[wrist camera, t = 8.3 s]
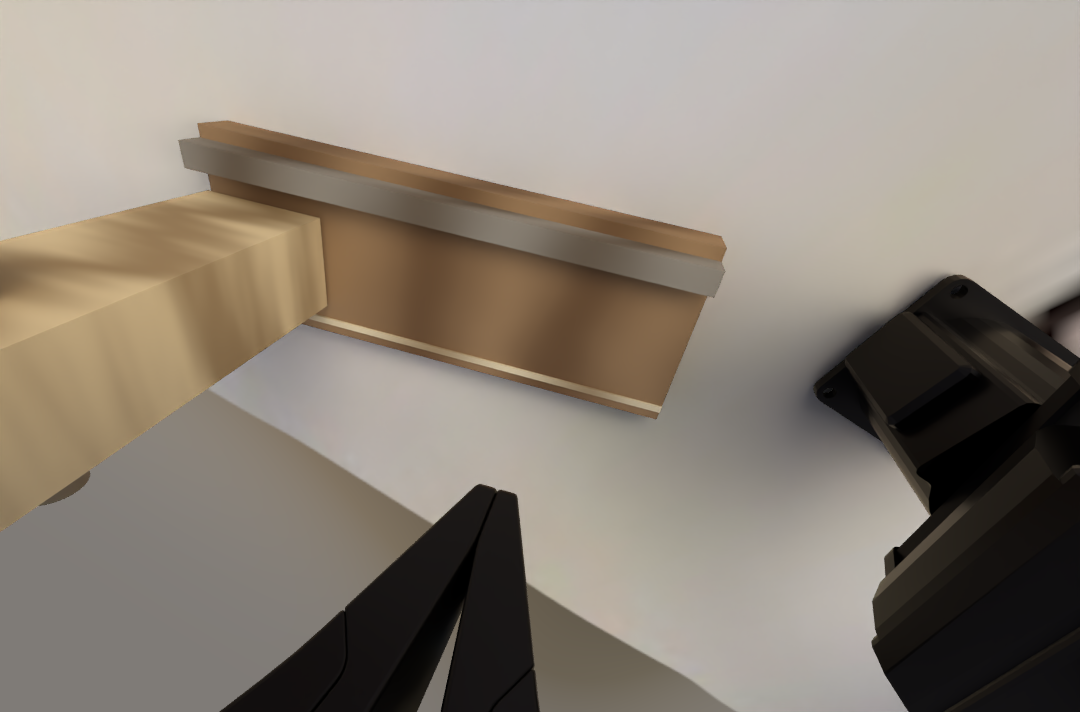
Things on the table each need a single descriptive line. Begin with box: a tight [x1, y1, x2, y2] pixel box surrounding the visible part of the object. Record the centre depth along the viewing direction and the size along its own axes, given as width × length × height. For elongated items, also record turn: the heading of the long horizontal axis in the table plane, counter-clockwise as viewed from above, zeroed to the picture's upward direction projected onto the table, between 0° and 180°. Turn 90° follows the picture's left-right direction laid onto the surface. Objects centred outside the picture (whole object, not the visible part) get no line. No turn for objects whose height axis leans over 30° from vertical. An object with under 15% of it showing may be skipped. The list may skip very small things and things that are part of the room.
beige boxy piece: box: [0, 190, 327, 532], centre depth 14 cm, size 5×8×15 cm, turn 169°
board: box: [178, 121, 727, 419], centre depth 19 cm, size 21×8×2 cm, turn 79°
